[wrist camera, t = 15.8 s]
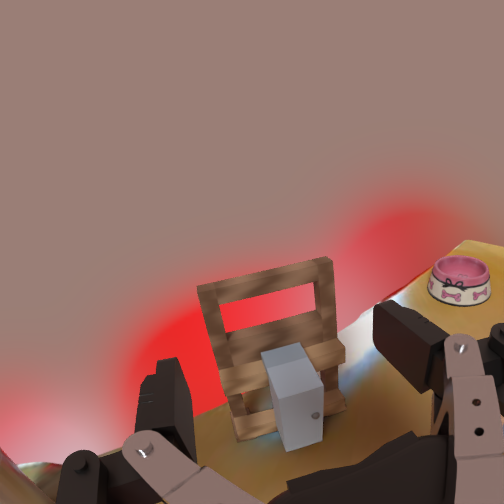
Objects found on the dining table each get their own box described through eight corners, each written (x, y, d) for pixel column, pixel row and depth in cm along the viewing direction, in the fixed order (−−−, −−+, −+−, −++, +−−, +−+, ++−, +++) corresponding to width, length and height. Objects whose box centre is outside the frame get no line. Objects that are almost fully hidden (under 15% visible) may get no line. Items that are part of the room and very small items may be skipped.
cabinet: (287, 455, 33) (279, 403, 29) (270, 410, 41) (260, 352, 36) (323, 443, 34) (325, 389, 29) (303, 400, 42) (299, 342, 37)
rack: (237, 444, 38) (193, 303, 31) (231, 415, 44) (192, 280, 37) (347, 411, 41) (346, 266, 33) (331, 387, 47) (323, 251, 40)
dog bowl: (495, 282, 64) (498, 258, 61) (483, 314, 53) (487, 286, 51) (440, 271, 78) (441, 248, 76) (416, 297, 68) (418, 272, 66)
